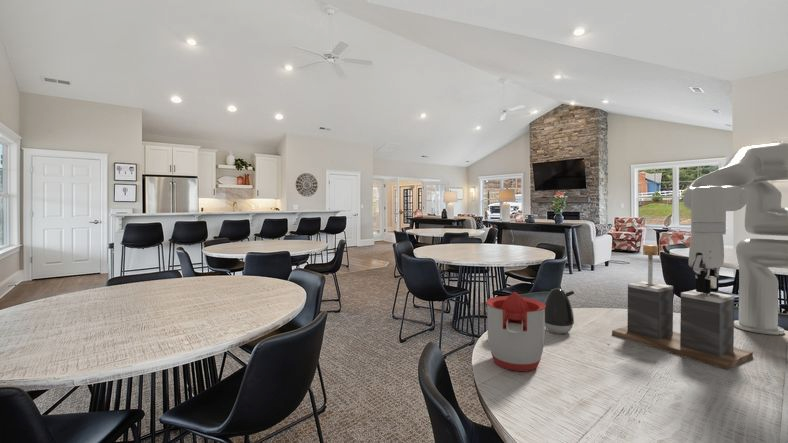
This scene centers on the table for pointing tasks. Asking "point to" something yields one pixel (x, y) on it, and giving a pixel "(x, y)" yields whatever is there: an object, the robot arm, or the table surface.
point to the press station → (684, 324)
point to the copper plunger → (650, 259)
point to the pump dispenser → (558, 311)
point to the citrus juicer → (516, 331)
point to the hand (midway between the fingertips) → (707, 291)
